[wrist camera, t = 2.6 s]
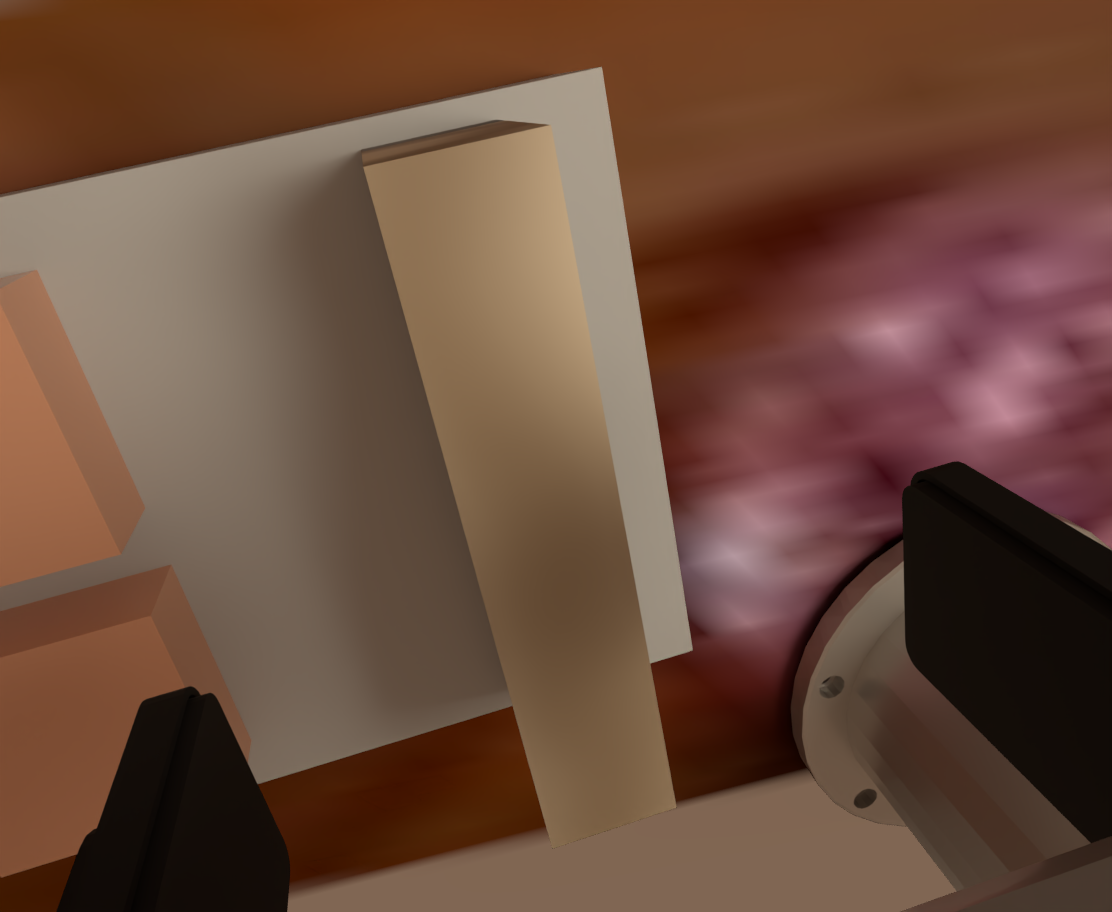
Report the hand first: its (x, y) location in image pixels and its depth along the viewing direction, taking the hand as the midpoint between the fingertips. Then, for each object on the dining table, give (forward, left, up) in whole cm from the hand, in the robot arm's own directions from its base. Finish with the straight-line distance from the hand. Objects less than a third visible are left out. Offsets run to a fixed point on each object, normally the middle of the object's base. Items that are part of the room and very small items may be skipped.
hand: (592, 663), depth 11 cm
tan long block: (0, 0, -8) cm, 8 cm away
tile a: (+8, +7, -8) cm, 13 cm away
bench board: (+6, +2, -12) cm, 14 cm away
